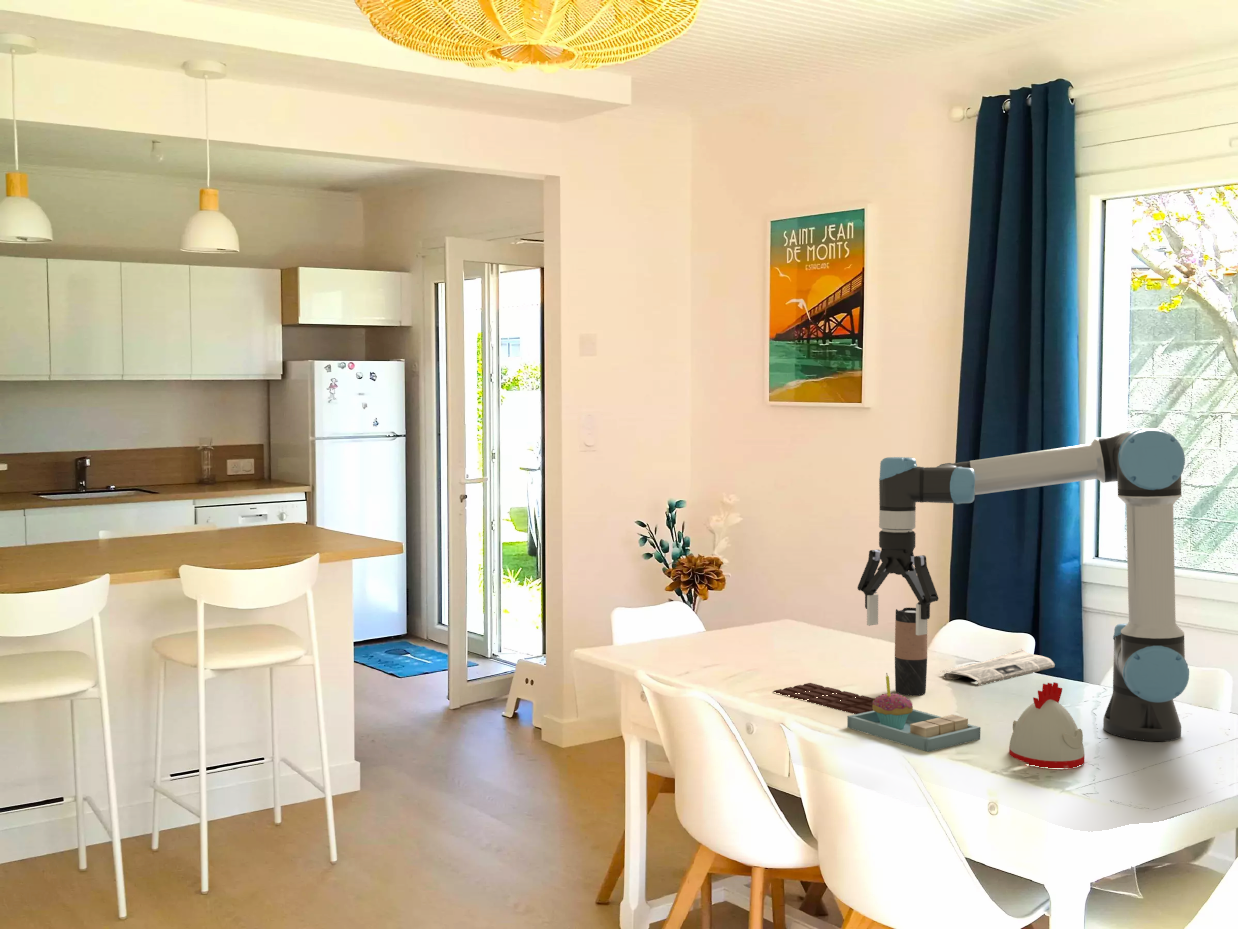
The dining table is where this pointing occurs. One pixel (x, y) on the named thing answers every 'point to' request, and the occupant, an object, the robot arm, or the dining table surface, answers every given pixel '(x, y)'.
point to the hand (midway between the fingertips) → (896, 629)
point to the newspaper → (1001, 667)
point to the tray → (872, 726)
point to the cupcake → (892, 708)
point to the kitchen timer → (1047, 733)
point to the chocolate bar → (830, 697)
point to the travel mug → (909, 654)
